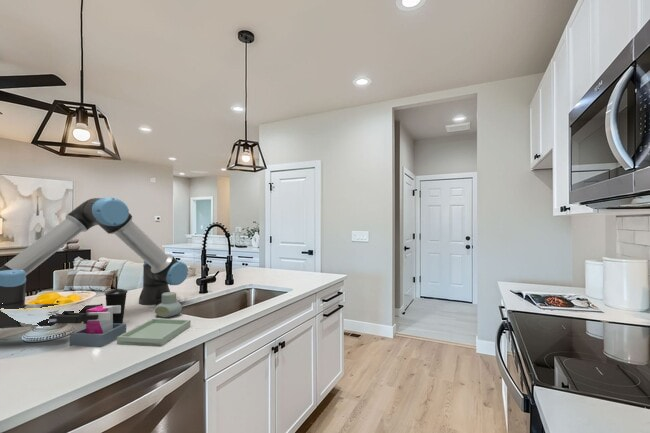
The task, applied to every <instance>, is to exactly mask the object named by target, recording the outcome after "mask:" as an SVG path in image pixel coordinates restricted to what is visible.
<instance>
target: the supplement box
mask: <svg viewBox="0 0 650 433" xmlns="http://www.w3.org/2000/svg"><path fill="white" fill-rule="evenodd" d="M91 312H110V320H101V321H88V320H87V323H86V324H85V327H86V333H91V334H103V333H105V332H107V331H109V330H111V329H113V306H106V305H103V306H98V307H94V308H91V309H88V310H86V314H87V315H88V313H91Z"/></svg>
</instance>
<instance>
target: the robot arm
mask: <svg viewBox="0 0 650 433" xmlns="http://www.w3.org/2000/svg"><path fill="white" fill-rule="evenodd" d="M129 210H130V209H129V207H128V205H127V204H126V203H125V202H124V201H122V200H121V199H119V198H115V197H111V196H110V197H109V196H108V197H107V196H106V197H94V198H93V197H92V198H89V199H86V200H85V201H83V202H82V203H81V204H79V205H78V206H77V207H75V208H74V209H73V210H71V211H70V212H69V213H68V214H66V215H65V219H64V220H62V221H60V222H59V224H57V225H56V226H54V227H53V228H52V229H51V230H48V232H47V233H45V234H43V236H41V237H39V238H38V239H37V240H36V241H35V242H33V243H32V244H30V245H28V246H27V247H26V248H25V249H23V250H22V251H21V252H19V253H18V254H17V255H15V256H14V257H12V259H10V260H8V262H6V263H5V264H3V265H2V266H1V267H0V309H1V308H4V309H19V308H39V307H40V308H42V307H48V306H54V305H59V304H58V303H46V304H45V303H37V304H35V303H33V304H31V303H30V304H26V288H27V275H29V274H30V273H32V271H34V270H35V269H36V268H37V267H39V266H40V265H42V263H44V262H45V261H46V260H47V259H49V258H51V256H52V255H54V254H55V253H57V252H58V251H59V250H61V248H63V247H65V245H66V244H68V243H70V242H71V241H72V240H73V239H74V238H75V237H77V236H79V235H80V233H83V232H84V233H85V232H87V231H88V230H90V229H91V228H93V227H95V226H98V227H100V228H101V229H103V231H105V233H107V234H109V235H115V236H116V237H117V238H119V240H121V241H122V243H124V244H125V245H126V246H128V247H129V249H130V250H132V251H133V252H134V254H136V255H137V256H139V257H140V258H141V259H142V260H143V265H142V266H143V271H142V272H143V273H142V274H143V276H142V278H143V279H142V282H143V283H142V289H141V292H140V295H139V297H138V304H140V305H144V306H145V305H146V306H147V305H151V306H152V305H159V304H160V303H161V301H162V294H163V293H166V292H171V290H170V287H169V286H179V285H181V284H183V283H184V282H185V281H186V280H187V277H188V275H189V273H188V272H189V268H188V265H187V264H186V263H184V262H182V261H179V260H178V259H176V258H175V256H173V255H172V254H170V253H169V254H168V253H166V252H164V250H162V249H161V247H160V246H158V245H157V243H156V242H154V241H153V240H152V239H151V238H150V237H149V236H148V235H147V234H146V233H145V232H144V231H143V230H142V229H141V228H140V227H139V226H138V225H137V224H136V223H135V222H133V215H132V214H131V213H130V212H129ZM2 303H3V304H2ZM84 306H85V305H84ZM98 306H104V304H103V303H100V304H88V305H86V306H85V307H84V308H83V309H82V310H81V311H80V310H79V311H80V312H79V313H74V311H64V312H63V313H62V314H56V315H52V316H50V317H49V319H46V320H43V321H41V322H39V323H37V324H38V325H39V326H38V325H32V324H25V323H21V322H18V321H16V320H14V319H13V318H11V317H9V316H8V315H7V314H5V313H3V312H1V311H0V329H14V328H15V329H16V328H30V329H34V328H35V327H36V328H37V327H41V328H42V327H52V326H55V325H56V324H58V325H60V324H62V325H63V324H69V325H70V324H72V325H73V324H75V325H76V324H77V325H80V324H82V323H83V325H86V323H87V320H88V321H101V320H110V312H91V313H88V315H87V314H86V310H88V309H91V308H94V307H98ZM113 313H121V305H119V306H113ZM48 321H49V323H48Z"/></svg>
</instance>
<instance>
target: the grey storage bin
mask: <svg viewBox="0 0 650 433" xmlns="http://www.w3.org/2000/svg"><path fill="white" fill-rule="evenodd" d="M126 332H127V323H123V324H120V323H113V329H111V330H109V331H107V332H105V333H103V334H91V333H86V326H85V327H83V328H80V329H78V330H76V331H74V332H71V333H70V334H69V346H72V347H73V346H74V347H91V348H92V347H96V348H103V347H104V346H106V345H108V344H110V343H112V342H114V341H115V340H116V341H117V337H118V336H120V335H122V334H124V333H126Z"/></svg>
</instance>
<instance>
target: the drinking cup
mask: <svg viewBox="0 0 650 433" xmlns="http://www.w3.org/2000/svg"><path fill="white" fill-rule="evenodd" d="M118 278H119V277H118V275H117V276H115V286H114V287H115V288H113V289H110V290H107V291H106V292H104V296H105V304H106V305H105V306H119V305H121V313H113V323H120V324H124V323H123V322H124V315H125V307H126V301H127V300H126V299H127V293H128V290H127V289H123V288H118V280H119V279H118Z"/></svg>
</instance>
